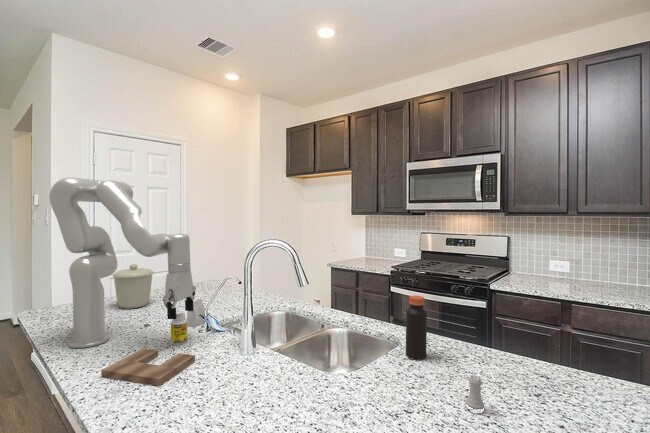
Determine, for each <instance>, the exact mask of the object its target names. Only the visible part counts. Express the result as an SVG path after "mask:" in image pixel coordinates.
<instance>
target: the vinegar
mask: <svg viewBox="0 0 650 433" xmlns="http://www.w3.org/2000/svg"><path fill="white" fill-rule="evenodd" d="M408 304H409V308H408V309H407V310H406V312H405V320H406V321H405V357H407V356H408V357H410V358H413V359H423V358H425V357H426V358H427V343H428V342H427V340H428V339H427V337H428V332H427V330H428V329H427V328H428V313H427V311H426V310H425V308H424V307H425V297H424V296H421V295H417V294H415V295H409V297H408ZM408 357H407V358H408ZM410 358H409V359H410ZM426 358H425V359H426ZM413 359H412V360H413ZM423 360H424V359H423Z"/></svg>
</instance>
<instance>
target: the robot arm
mask: <svg viewBox="0 0 650 433" xmlns="http://www.w3.org/2000/svg"><path fill="white" fill-rule="evenodd" d="M133 197H134V190H133V188H132V187H131V185H129V184H128V183H127V182H123V181H116V180H96V179H89V178H81V177H65V178H61V179H59V180H58V181H56V182H55V183H54V184H53V185H52V187H51V188H50V191H49V197H48V198H49V203H50V206H51V210H52V211H53V213H54V215H55V217H56V220H57V223H58V227H59V230H60V232H61V233H60V234H61V236H62V239H63V242H64V245H65V247H66V249H67V250H68V251H69V252H70V253H71V254H72V253H73V254H83V253H88V254H87V255H84V256H80V257H78V258H76V259H74V261H73V262H72V263H71V264H70V266H69V269H68V272H69V278H70V279H69V280H70V282H71V287H72V288H71V289H72V324H73V325H72V328H71V329H70V330H69V331H67V332H66V334H67V336H71V339H69V340H68V341H67V345H68V347H70V348H73V349H83V348H84V349H85V348H92V347H94V346H95V347H96V346H99V345H101V344H104V343H106V342H107V341H109V340H110V335H111V334H110V333H108V332H106V330H105V329H106V328H105V326H106V325H105V324H106V321H105V314H106V313H105V310H106V309H105V308H106V307H105V289H104V286H103V283H102V281H101V279H103V278H107V277H109V276H112V275H113V274H114V273H116V272H117V269H118V258H117V256H116V252H115V249H114V246H113V243H112V241H111V238H110V235H109V233H108V232H107V231H106V230H105V228H103V227H100V226H98V225H97V226H96V225H90V224H89V222H88V220H87V216H86V213H85V211H84V210H83V208H82V207H81V206H80V205H79V203H78V202H84V203H86V202H87V203H89V202H90V203H101V204H102V205H103V207H105V208H106V209H107V211H109V213H110V214H112V216H113V217H114V218H115V219H116V220H117V222H118V223H120V227H121V228H120V229H121V230H122V234H123V236H124V238H125V240H126V241H127V243H129V245H130V246H131V247H132V248H133V249H134V250H135V251H136V252H137V253H138V254H140V255H141V256H143V257H146V258H151V257H157V256H160V255H164V254H167V272H168V273H167V274H166V279H165V290H164V291H165V292H164V293H165V295H163V297H162V299H161V300H162V302H163V305H164V306H165V309H166V312H167V320H173V319H176V314H177V307H176V306H177V303H178V302H180V301H183V300H184V299H185V300H184V311H186V312H188V311H193V310H194V308H193V302H194V300H195V295H196V290H197V286H195V285H194V282H193V276H192V271H191V270H192V268H191V246H190V245H191V243H190V236H189V234H186V233H185V234H184V233H177V234H176V233H175V234H167V233H158V234H157V233H155V234H151V233H150V232H149V231H148V230H147V229H146V227H144V225H143V223H142V222H141V220H140V216H141V215H142V213H143V212H142V211H143V210H142V208H141V207H140V205H138V204H137V201H135V200H134V199H133Z"/></svg>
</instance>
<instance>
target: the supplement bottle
mask: <svg viewBox="0 0 650 433" xmlns="http://www.w3.org/2000/svg"><path fill="white" fill-rule="evenodd" d="M186 342H188V326H187V318H186V314H185V313H183V312H182V313H176V319H171V322H170V343H171V344H172V345H174V346H179V345H184V344H185V343H186Z"/></svg>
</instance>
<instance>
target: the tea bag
mask: <svg viewBox="0 0 650 433" xmlns="http://www.w3.org/2000/svg"><path fill="white" fill-rule="evenodd" d="M202 300H203V299H202V298H200V299H197V300H195V301H194V300H193V308H194V310H193V311H186V312H187V318H186V319H187V328H188V327H189V328H197V327H199V326H200V325H202V324H204V323H205V322H204V320H203V318H202V317H201V316H199V315H200V314H201V315H205V316H206V307H205V305H204V303H203V301H202ZM203 322H204V323H203Z"/></svg>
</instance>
